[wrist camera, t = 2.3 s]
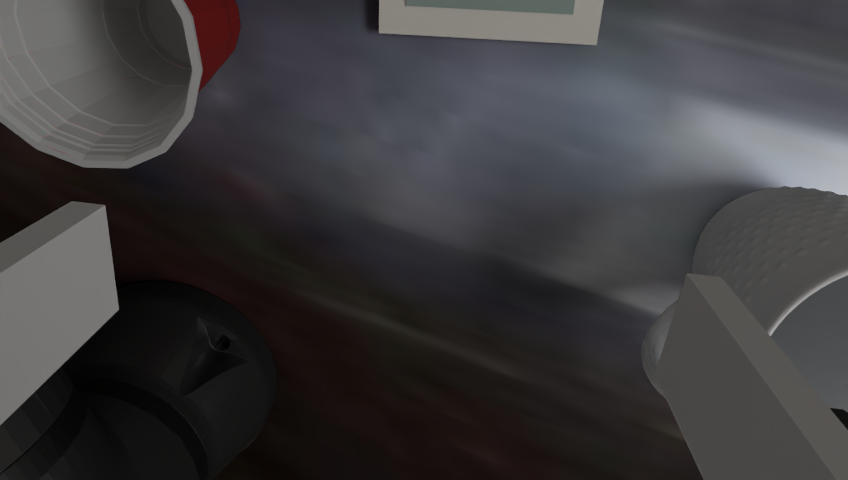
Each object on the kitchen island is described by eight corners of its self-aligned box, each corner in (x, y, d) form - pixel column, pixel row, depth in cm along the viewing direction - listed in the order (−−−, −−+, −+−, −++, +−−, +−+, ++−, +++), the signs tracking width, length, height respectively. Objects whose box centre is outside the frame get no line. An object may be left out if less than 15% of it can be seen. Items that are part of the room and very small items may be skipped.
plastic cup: (104, 94, 37) (-52, 147, 26) (96, -104, 32) (-96, -139, 21) (276, 130, 37) (193, 198, 26) (293, -63, 32) (200, -76, 22)
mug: (665, 371, 42) (739, 530, 30) (577, 259, 39) (622, 387, 27) (881, 257, 37) (1069, 392, 25) (800, 119, 34) (972, 200, 22)
